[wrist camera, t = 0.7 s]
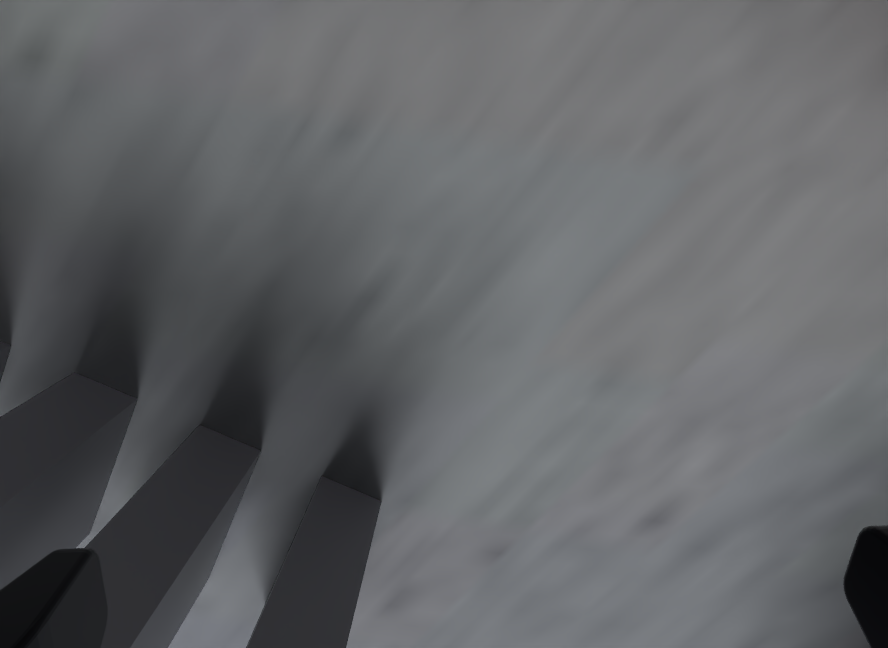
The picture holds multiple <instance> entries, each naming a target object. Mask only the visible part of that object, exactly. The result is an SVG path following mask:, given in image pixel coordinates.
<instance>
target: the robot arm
mask: <svg viewBox="0 0 888 648" xmlns="http://www.w3.org/2000/svg"><path fill="white" fill-rule="evenodd" d="M844 591H845V595H846V598H847V600H848V602H849V604H850V607H851V609H852V611H853V613H854V615H855V617H856V619H857V621H858V623H859V625H860V627H861V629H862V631H863V633H864V635H865V637H866V639H867V641H868V643H869V645H870V647H871V648H888V526H868V527H866V528H864V529H863V530H862V531H861V532H860V533H859V535H858V537H857V540H856V543H855V546H854V549H853V552H852V555H851V558H850V561H849V564H848V567H847V570H846V572H845V576H844ZM107 620H108V603H107V597H106V592H105V586H104V581H103V575H102V570H101V564H100V559H99V556H98V554H97V552H96V551H94V550H93V549H91V548H75V549H59V550H55V551H53V552H51V553H50V554H48V555H47V556H45V557H44V558H43V559H41V560H40V561H39V562H37V563H36V564H35V565H33V566H32V567H30V568H29V569H28V570H26V571H25V572H24V573H22V574H21V575H20V576H18V577H17V578H16V579H14V580H13V581H12V582H10V583H9V584H8V585H6V586H5V587H3V588H2V589H1V590H0V648H101V645H102V642H103V638H104V634H105V630H106V626H107Z"/></svg>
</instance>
